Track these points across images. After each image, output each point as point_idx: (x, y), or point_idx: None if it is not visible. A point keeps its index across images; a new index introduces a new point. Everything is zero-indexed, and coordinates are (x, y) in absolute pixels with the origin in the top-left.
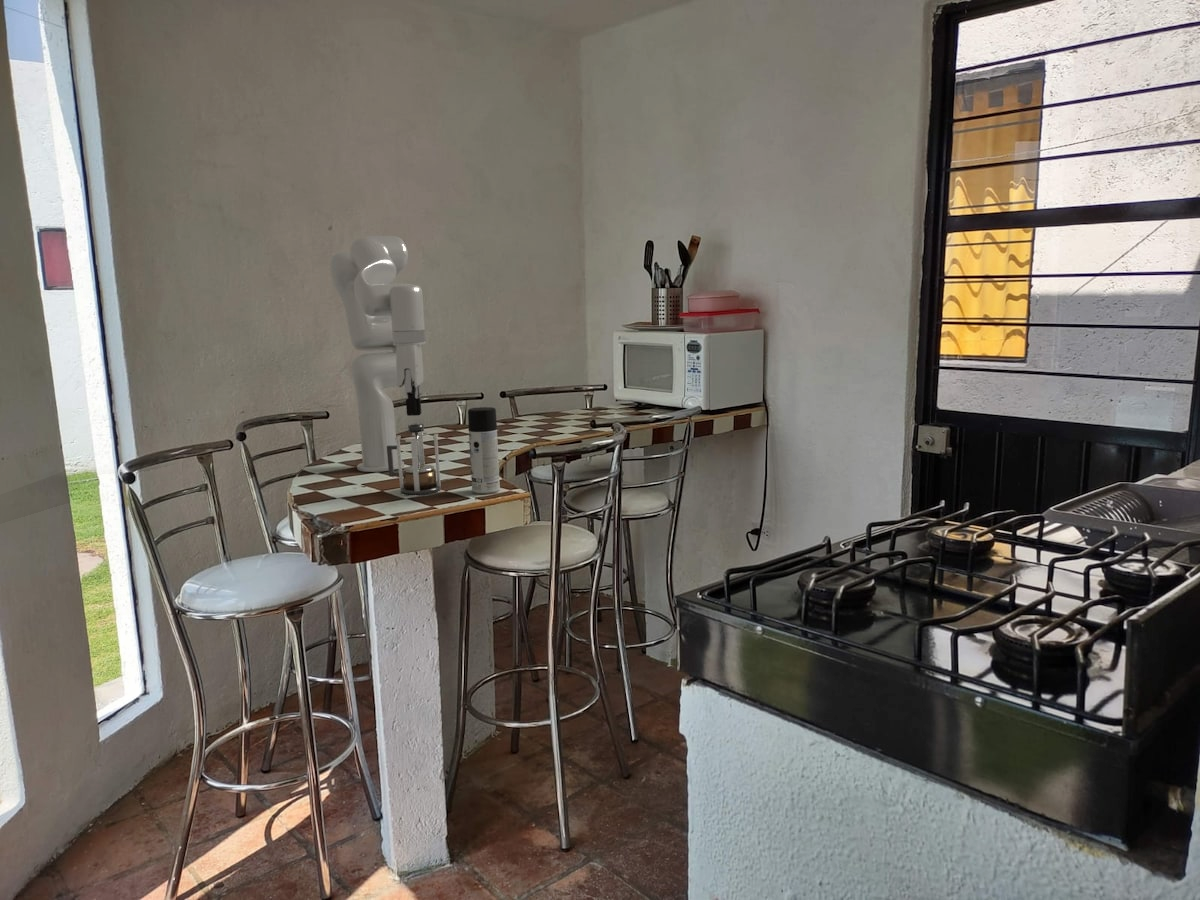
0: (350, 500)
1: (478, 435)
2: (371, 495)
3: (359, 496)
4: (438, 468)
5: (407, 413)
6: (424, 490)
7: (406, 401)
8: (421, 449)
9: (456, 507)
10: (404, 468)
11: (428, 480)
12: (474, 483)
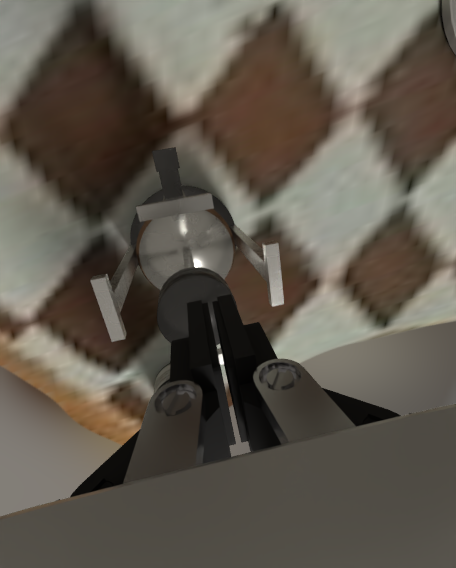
0: (52, 52)
1: None
2: (125, 105)
3: (109, 65)
4: None
5: (187, 309)
6: None
7: (190, 359)
8: (251, 259)
9: (32, 375)
10: None
11: None
12: (159, 385)
